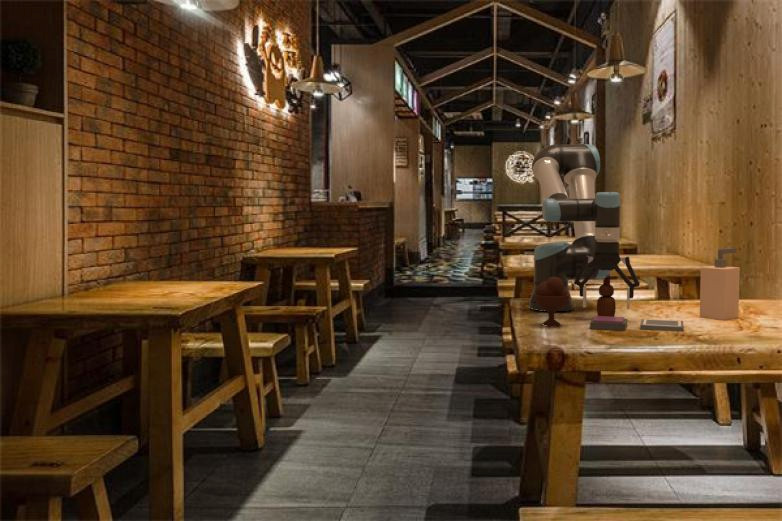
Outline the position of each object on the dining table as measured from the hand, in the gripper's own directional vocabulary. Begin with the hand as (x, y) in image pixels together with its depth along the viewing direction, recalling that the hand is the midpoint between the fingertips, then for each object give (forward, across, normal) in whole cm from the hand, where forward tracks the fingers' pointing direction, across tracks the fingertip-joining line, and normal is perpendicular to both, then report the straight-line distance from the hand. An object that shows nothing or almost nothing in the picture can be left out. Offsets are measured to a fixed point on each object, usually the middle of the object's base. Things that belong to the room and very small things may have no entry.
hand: (606, 307), depth 243 cm
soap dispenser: (+4, +35, +17) cm, 39 cm away
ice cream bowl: (+4, -15, -15) cm, 22 cm away
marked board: (+4, +17, -9) cm, 20 cm away
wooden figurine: (+4, 0, 0) cm, 4 cm away
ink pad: (+4, +2, -14) cm, 15 cm away
